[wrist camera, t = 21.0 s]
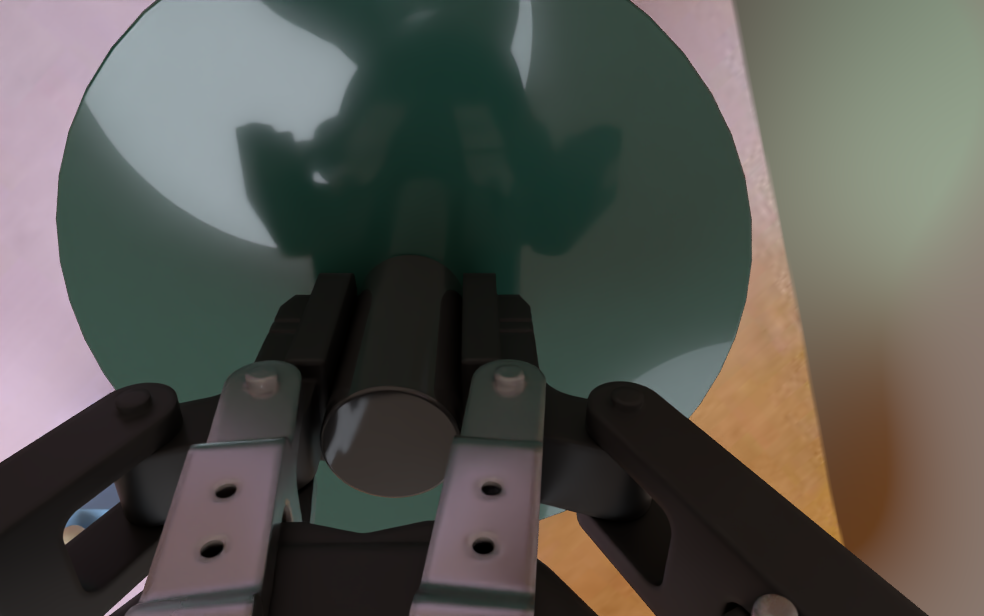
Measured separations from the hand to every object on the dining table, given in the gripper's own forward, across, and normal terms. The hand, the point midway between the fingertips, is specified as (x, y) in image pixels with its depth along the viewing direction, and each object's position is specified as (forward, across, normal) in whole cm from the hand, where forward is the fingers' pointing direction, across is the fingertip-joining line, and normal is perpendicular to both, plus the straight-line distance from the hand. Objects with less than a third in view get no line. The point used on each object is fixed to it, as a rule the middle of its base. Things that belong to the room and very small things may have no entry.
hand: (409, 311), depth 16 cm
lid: (+1, 0, 0) cm, 1 cm away
